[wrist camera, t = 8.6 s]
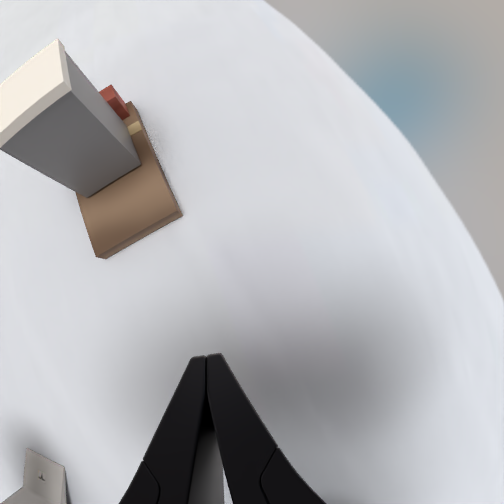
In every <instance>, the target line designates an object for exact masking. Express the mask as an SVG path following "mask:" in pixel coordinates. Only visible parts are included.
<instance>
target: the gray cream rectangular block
mask: <svg viewBox="0 0 504 504" xmlns="http://www.w3.org/2000/svg"><path fill="white" fill-rule="evenodd" d="M0 150H2V151H4V152H5V153H7V154H9V155H11V156H12V157H14V158H16V159H18V160H19V161H21V162H23V163H25V164H26V165H28V166H30V167H32V168H34V169H35V170H37V171H39V172H41V173H42V174H44V175H46V176H48V177H50V178H51V179H53V180H55V181H57V182H59V183H61V184H62V185H64V186H66V187H68V188H70V189H71V190H73V191H75V192H77V193H79V194H81V195H82V196H84V197H86V198H88V197H89V196H91V195H92V194H94V193H95V192H97V191H98V190H100V189H102V188H103V187H105V186H106V185H108V184H110V183H111V182H113V181H114V180H116V179H118V178H119V177H121V176H123V175H124V174H126V173H128V172H129V171H131V170H133V169H134V168H136V167H138V166H139V165H141V162H140V160H139V157H138V154H137V152H136V149H135V147H134V144H133V142H132V139H131V136H130V134H129V131H128V128H127V126H126V124H125V123H124V122H123V121H122V120H121V118H120V117H119V116H118V115H117V114H116V112H115V111H114V110H113V109H112V108H111V106H110V105H109V104H108V103H107V102H106V100H105V99H104V98H103V97H102V96H101V94H100V93H99V92H98V91H97V89H96V88H95V87H94V86H93V85H92V83H91V82H90V81H89V80H88V78H87V77H86V76H85V75H84V74H83V72H82V71H81V70H80V69H79V67H78V66H77V65H76V64H75V63H74V61H73V60H72V59H71V58H70V56H69V55H68V54H67V53H66V51H65V48H64V45H63V44H62V43H61V42H60V40H59V39H56V40H55V41H53V42H52V43H51V44H49V45H48V46H46V47H45V48H44V49H42V50H41V51H40V52H38V53H37V54H36V55H34V56H33V57H32V58H31V59H29V60H28V61H27V62H26V63H24V64H23V65H22V66H21V67H20V68H18V69H17V70H16V71H15V72H14V73H13V74H11V75H10V76H9V77H8V78H7V79H6V80H5V81H4V82H2V83H1V84H0Z"/></svg>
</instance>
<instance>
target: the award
mask: <svg viewBox="0 0 504 504" xmlns="http://www.w3.org/2000/svg"><path fill="white" fill-rule="evenodd" d="M1 504H67V502H66V482H65V468H64V466H62V465H60V464H57V463H55V462H53V461H51V460H49V459H47V458H45V457H43V456H41V455H39V454H38V453H36V452H34V451H32V450H30V449H28V448H27V450H26V458H25V467H24V479H23V487H22V488H21V489H19V490H18V491H17V492H15V493H14V494H13V495H11V496H10V497H9V498H7V499H6V500H5V501H3V502H2V503H1Z"/></svg>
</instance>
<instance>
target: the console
mask: <svg viewBox="0 0 504 504" xmlns="http://www.w3.org/2000/svg"><path fill="white" fill-rule="evenodd" d="M99 93H100V94H101V96H102V97H103V98H104V99H105V100H106V102H107V103H108V104H109V105H110V106H111V108H112V109H113V110H114V111H115V112H116V114H117V115H118V116H119V117H120V118H121V120H122V121H123V122H124V123H125V124H126V126H127V128H128V131H129V134H130V136H131V139H132V142H133V144H134V147H135V149H136V152H137V154H138V157H139V160H140V162H141V165H139V166H138V167H136V168H134V169H133V170H131V171H129V172H128V173H126V174H124V175H123V176H121V177H119V178H118V179H116V180H114V181H113V182H111V183H110V184H108V185H106V186H105V187H103V188H102V189H100V190H98V191H97V192H95V193H94V194H92V195H91V196H89V197H88V198H86V197H84V196H82V195H81V194H79V193H77V192H76V196H77V199H78V203H79V206H80V209H81V213H82V216H83V219H84V223H85V226H86V229H87V232H88V235H89V238H90V241H91V244H92V247H93V250H94V253H95V255H96V257H98V258H103V259H107V258H108V257H110V256H112V255H114V254H115V253H117V252H119V251H120V250H122V249H124V248H126V247H127V246H129V245H131V244H133V243H134V242H136V241H138V240H140V239H141V238H143V237H145V236H147V235H148V234H150V233H152V232H154V231H156V230H157V229H159V228H161V227H163V226H165V225H167V224H168V223H170V222H172V221H174V220H176V219H178V218H180V217H181V216H183V215H182V213H181V211H180V209H179V206H178V204H177V202H176V200H175V198H174V195H173V193H172V191H171V189H170V186H169V184H168V182H167V180H166V177H165V175H164V173H163V170H162V168H161V166H160V164H159V161H158V159H157V157H156V154H155V152H154V150H153V147H152V145H151V142H150V140H149V138H148V135H147V133H146V131H145V128H144V126H143V123H142V121H141V118H140V116H139V114H138V111H137V109H136V108H135V106H134V105H133V103H132V102H131V101H130V102H128V103H126V104H125V102H124V101H123V100H122V98H121V97H120V96H119V94H118V93H117V92H116V90H115V89H114V88H113V86H112V85H110V86H108V87H106V88H105V89H103V90H101V91H100V92H99Z"/></svg>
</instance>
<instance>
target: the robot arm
mask: <svg viewBox="0 0 504 504" xmlns="http://www.w3.org/2000/svg"><path fill="white" fill-rule="evenodd" d="M223 468H224V472H225V475H226V479H227V483H228V487H229V490H230V494H231V498H232V501H233V504H326V503H325V502H324V501H323V500H322V499H321V498H320V497H319V496H318V495H317V494H316V493H315V492H314V491H313V490H312V489H311V488H310V487H309V485H308V484H307V483H306V482H305V481H304V480H303V479H302V478H301V477H300V475H299V474H298V473H297V472H296V470H295V469H294V468H293V466H292V465H291V464H290V462H289V461H288V460H287V458H286V457H285V455H284V454H283V452H282V451H281V449H280V448H278V445H277V443H276V442H275V440H274V439H273V437H272V436H271V434H270V433H269V431H268V430H267V428H266V426H265V425H264V423H263V422H262V420H261V419H260V417H259V415H258V414H257V412H256V411H255V409H254V407H253V406H252V404H251V402H250V401H249V399H248V398H247V396H246V394H245V393H244V391H243V389H242V388H241V386H240V384H239V383H238V381H237V379H236V377H235V376H234V374H233V372H232V371H231V369H230V367H229V365H228V364H227V362H226V360H225V358H224V357H223V355H222V354H221V353H216V354H210V355H208V356H207V357H206V356H204V355H203V356H196V357H192V358H191V359H190V361H189V363H188V365H187V368H186V370H185V372H184V374H183V376H182V378H181V380H180V382H179V384H178V386H177V388H176V390H175V392H174V394H173V397H172V399H171V401H170V403H169V405H168V407H167V409H166V411H165V413H164V415H163V417H162V420H161V422H160V424H159V426H158V428H157V430H156V432H155V434H154V436H153V438H152V441H151V443H150V445H149V447H148V449H147V451H146V453H145V455H144V457H143V461H142V462H141V463H140V466H139V468H138V470H137V472H136V474H135V476H134V478H133V480H132V482H131V484H130V486H129V488H128V489H127V491H126V493H125V494H124V496H123V497H122V499H121V501H120V502H119V504H224V485H223Z"/></svg>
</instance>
